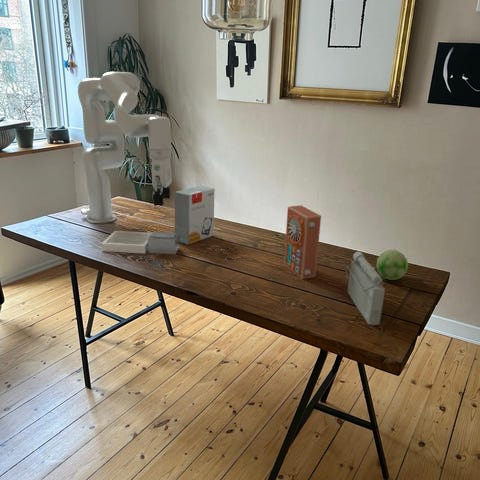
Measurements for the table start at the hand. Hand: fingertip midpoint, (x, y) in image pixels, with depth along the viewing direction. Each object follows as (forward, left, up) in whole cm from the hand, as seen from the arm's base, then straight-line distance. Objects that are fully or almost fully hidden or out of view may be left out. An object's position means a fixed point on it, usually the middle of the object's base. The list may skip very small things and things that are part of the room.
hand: (162, 201), depth 163 cm
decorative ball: (+80, -13, -19) cm, 83 cm away
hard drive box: (+9, +15, -19) cm, 26 cm away
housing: (0, 0, -19) cm, 19 cm away
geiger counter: (+66, -32, -19) cm, 76 cm away
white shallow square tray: (-14, +3, -19) cm, 24 cm away
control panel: (+50, -11, -19) cm, 55 cm away
